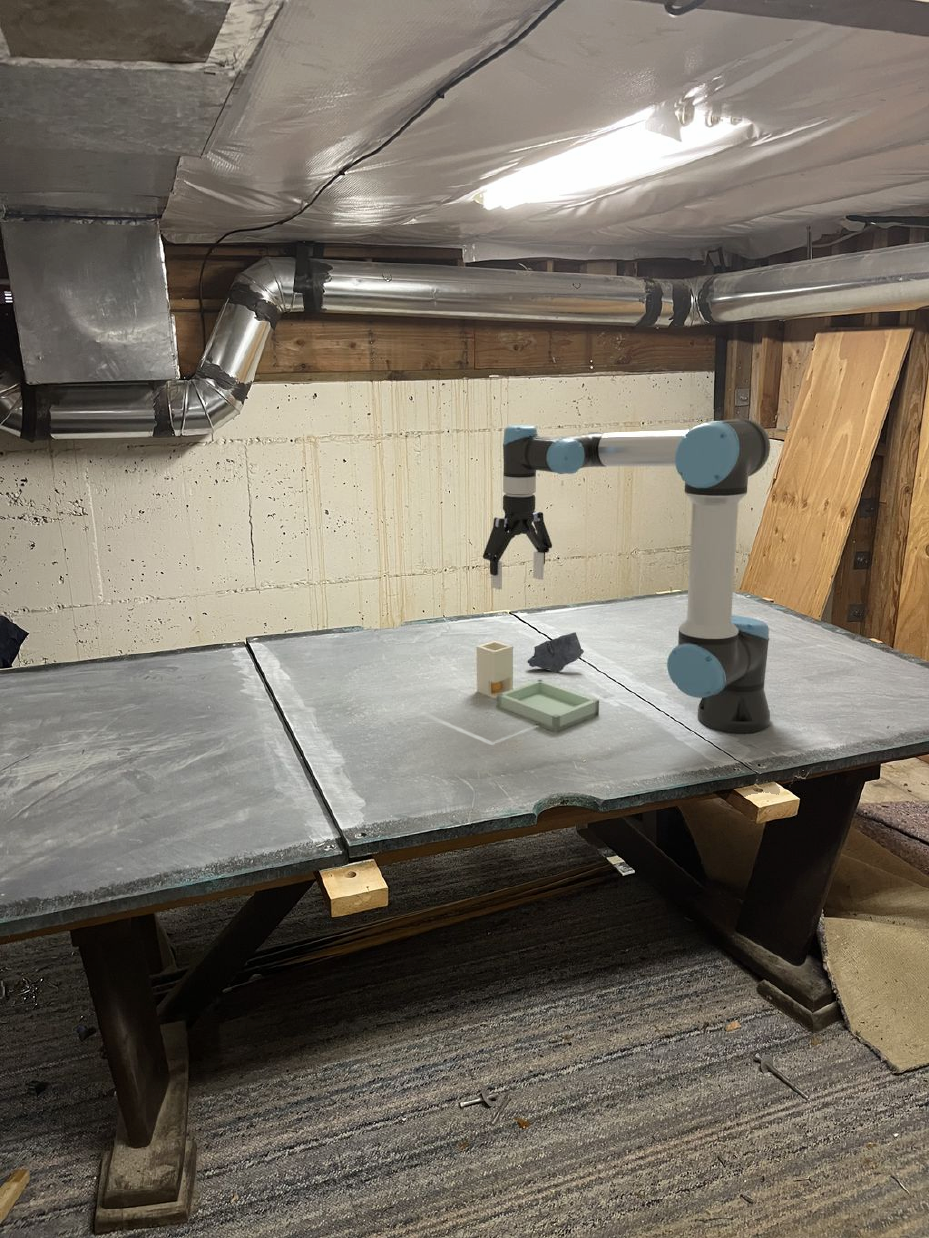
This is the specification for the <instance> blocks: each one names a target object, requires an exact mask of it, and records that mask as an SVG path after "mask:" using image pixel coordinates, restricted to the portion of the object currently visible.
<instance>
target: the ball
mask: <svg viewBox="0 0 929 1238" xmlns="http://www.w3.org/2000/svg"><path fill="white" fill-rule="evenodd" d="M500 688H501V682H500V681H499V682H496V683H493V682H491V691H493V692H497V691H499V690H500Z"/></svg>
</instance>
